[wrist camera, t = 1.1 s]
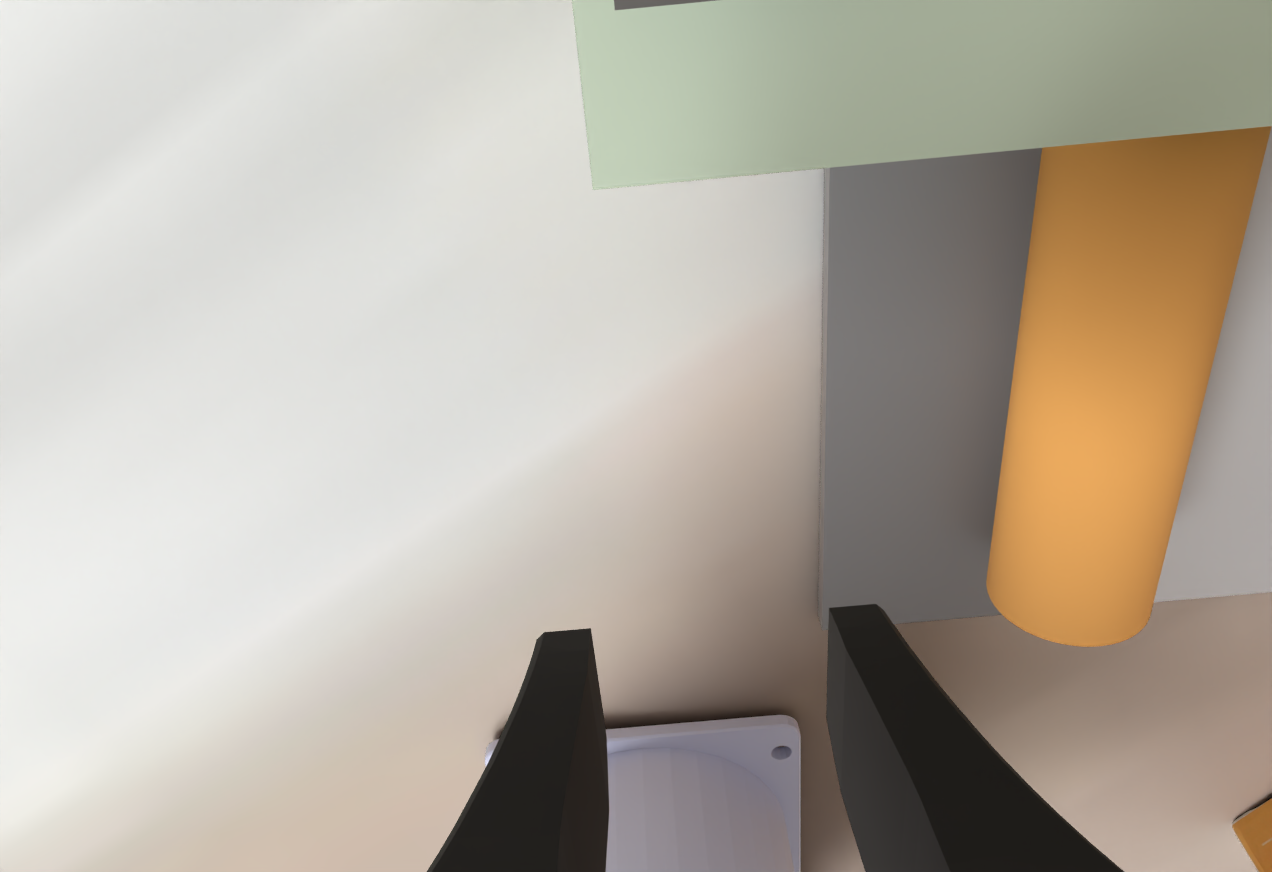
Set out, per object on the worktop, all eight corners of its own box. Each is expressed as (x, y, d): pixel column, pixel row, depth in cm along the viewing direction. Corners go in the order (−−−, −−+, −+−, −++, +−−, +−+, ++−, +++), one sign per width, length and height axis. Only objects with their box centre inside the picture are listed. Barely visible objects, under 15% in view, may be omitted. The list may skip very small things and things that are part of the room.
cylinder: (1123, 543, 22) (1174, 646, 20) (973, 544, 23) (1003, 646, 20) (1225, 75, 17) (1314, 130, 14) (1027, 87, 17) (1078, 143, 15)
